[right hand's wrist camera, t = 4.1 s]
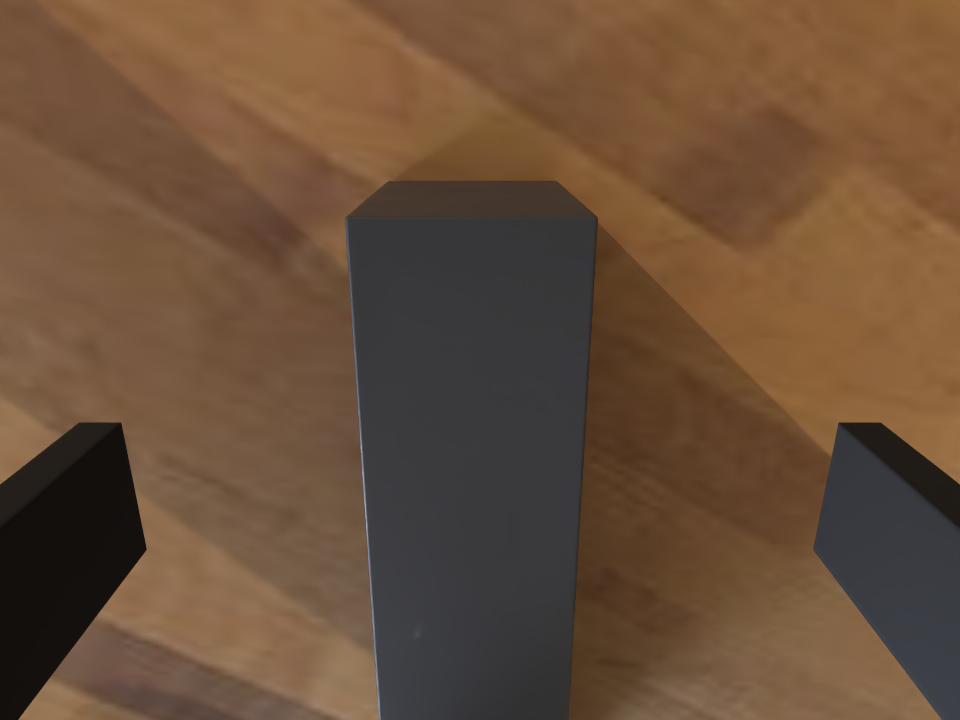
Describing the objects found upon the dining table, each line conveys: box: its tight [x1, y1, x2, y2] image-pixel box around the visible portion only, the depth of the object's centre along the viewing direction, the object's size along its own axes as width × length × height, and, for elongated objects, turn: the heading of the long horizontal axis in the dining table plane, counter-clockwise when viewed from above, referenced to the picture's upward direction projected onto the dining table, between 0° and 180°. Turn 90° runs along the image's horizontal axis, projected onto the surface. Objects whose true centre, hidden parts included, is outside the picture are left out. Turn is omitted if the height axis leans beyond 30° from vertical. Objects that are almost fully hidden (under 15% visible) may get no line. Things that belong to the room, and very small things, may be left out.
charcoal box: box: [345, 181, 598, 720], centre depth 27 cm, size 32×6×9 cm, turn 0°
